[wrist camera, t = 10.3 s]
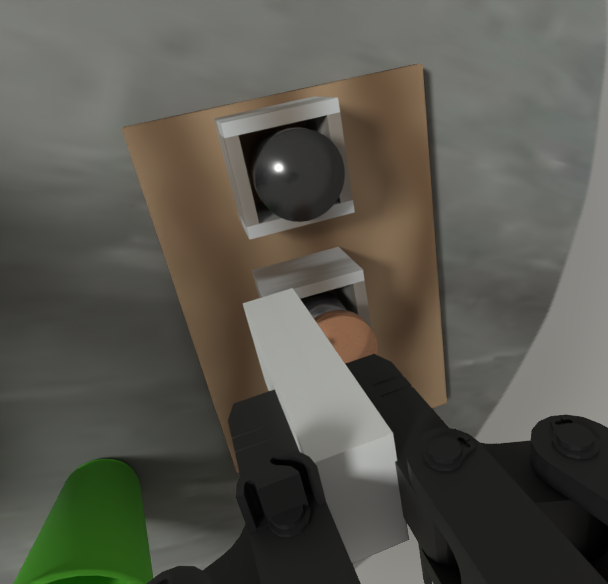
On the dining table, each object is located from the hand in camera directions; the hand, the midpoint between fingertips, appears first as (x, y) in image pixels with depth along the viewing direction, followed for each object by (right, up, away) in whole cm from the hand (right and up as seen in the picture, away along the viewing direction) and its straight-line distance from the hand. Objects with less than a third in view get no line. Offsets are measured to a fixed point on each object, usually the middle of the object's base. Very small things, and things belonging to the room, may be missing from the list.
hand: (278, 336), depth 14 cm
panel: (+1, +2, +20) cm, 20 cm away
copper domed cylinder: (+1, 0, +16) cm, 16 cm away
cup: (-14, -13, +22) cm, 29 cm away
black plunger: (-1, +9, +13) cm, 16 cm away
